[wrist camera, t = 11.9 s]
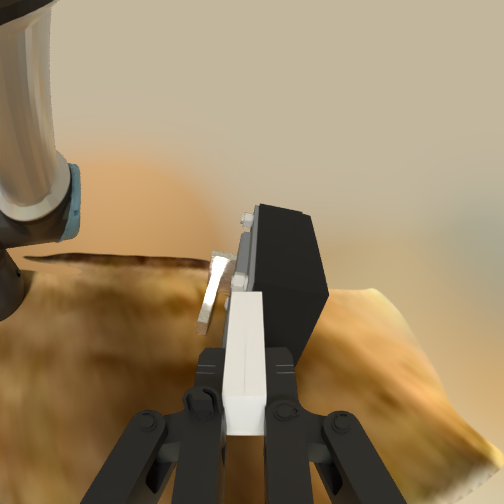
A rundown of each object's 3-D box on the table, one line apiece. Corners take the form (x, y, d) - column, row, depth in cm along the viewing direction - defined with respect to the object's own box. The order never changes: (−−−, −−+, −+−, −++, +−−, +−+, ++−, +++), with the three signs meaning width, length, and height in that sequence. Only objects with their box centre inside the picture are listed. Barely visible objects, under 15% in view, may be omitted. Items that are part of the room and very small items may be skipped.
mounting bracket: (193, 333, 48) (198, 283, 43) (207, 285, 58) (214, 238, 53) (298, 353, 49) (319, 308, 43) (297, 304, 59) (314, 259, 53)
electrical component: (224, 304, 55) (244, 200, 44) (281, 313, 56) (314, 214, 45) (211, 388, 41) (232, 278, 30) (283, 398, 41) (335, 295, 30)
